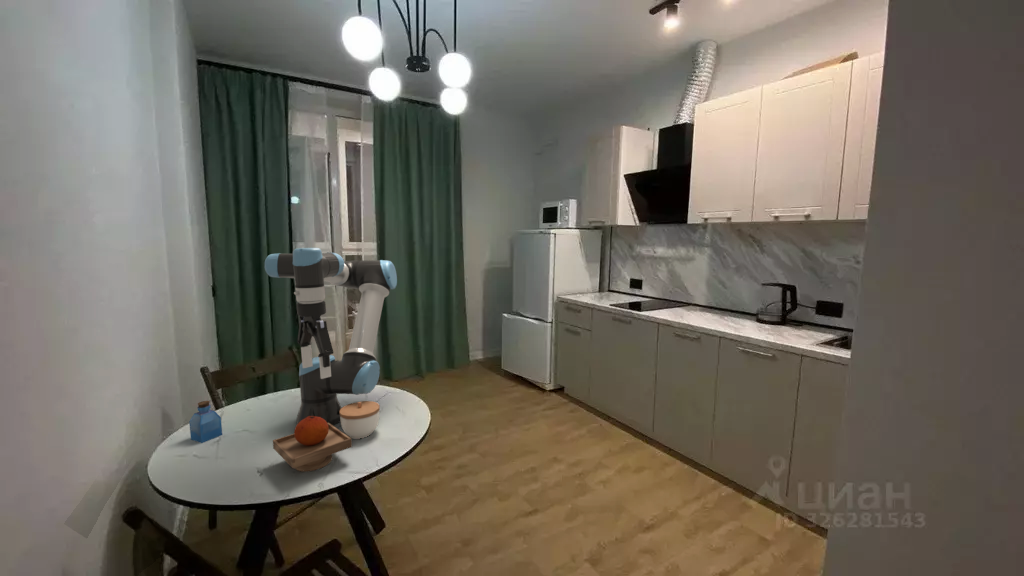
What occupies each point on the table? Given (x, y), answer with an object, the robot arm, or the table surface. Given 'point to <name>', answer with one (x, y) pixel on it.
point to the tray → (311, 450)
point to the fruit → (311, 430)
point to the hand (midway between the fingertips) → (316, 372)
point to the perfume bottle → (205, 423)
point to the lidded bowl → (359, 418)
